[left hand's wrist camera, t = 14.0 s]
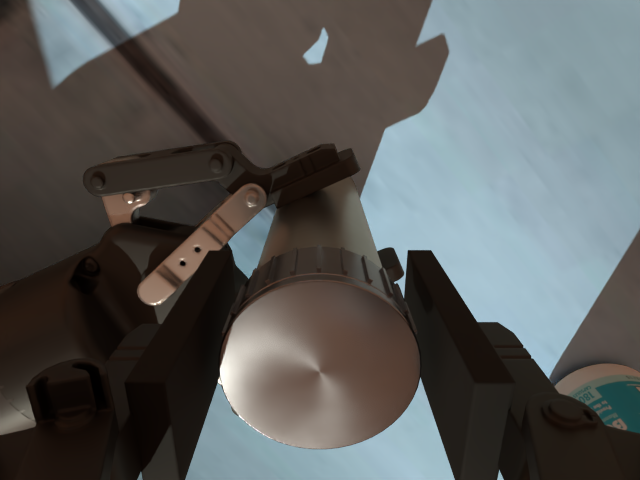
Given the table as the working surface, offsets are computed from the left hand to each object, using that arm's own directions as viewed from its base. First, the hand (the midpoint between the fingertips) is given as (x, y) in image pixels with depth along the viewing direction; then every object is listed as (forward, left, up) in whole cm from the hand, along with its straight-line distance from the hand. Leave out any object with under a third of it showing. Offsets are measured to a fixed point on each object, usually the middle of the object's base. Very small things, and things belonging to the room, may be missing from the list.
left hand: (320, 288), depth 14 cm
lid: (0, 0, +4) cm, 4 cm away
